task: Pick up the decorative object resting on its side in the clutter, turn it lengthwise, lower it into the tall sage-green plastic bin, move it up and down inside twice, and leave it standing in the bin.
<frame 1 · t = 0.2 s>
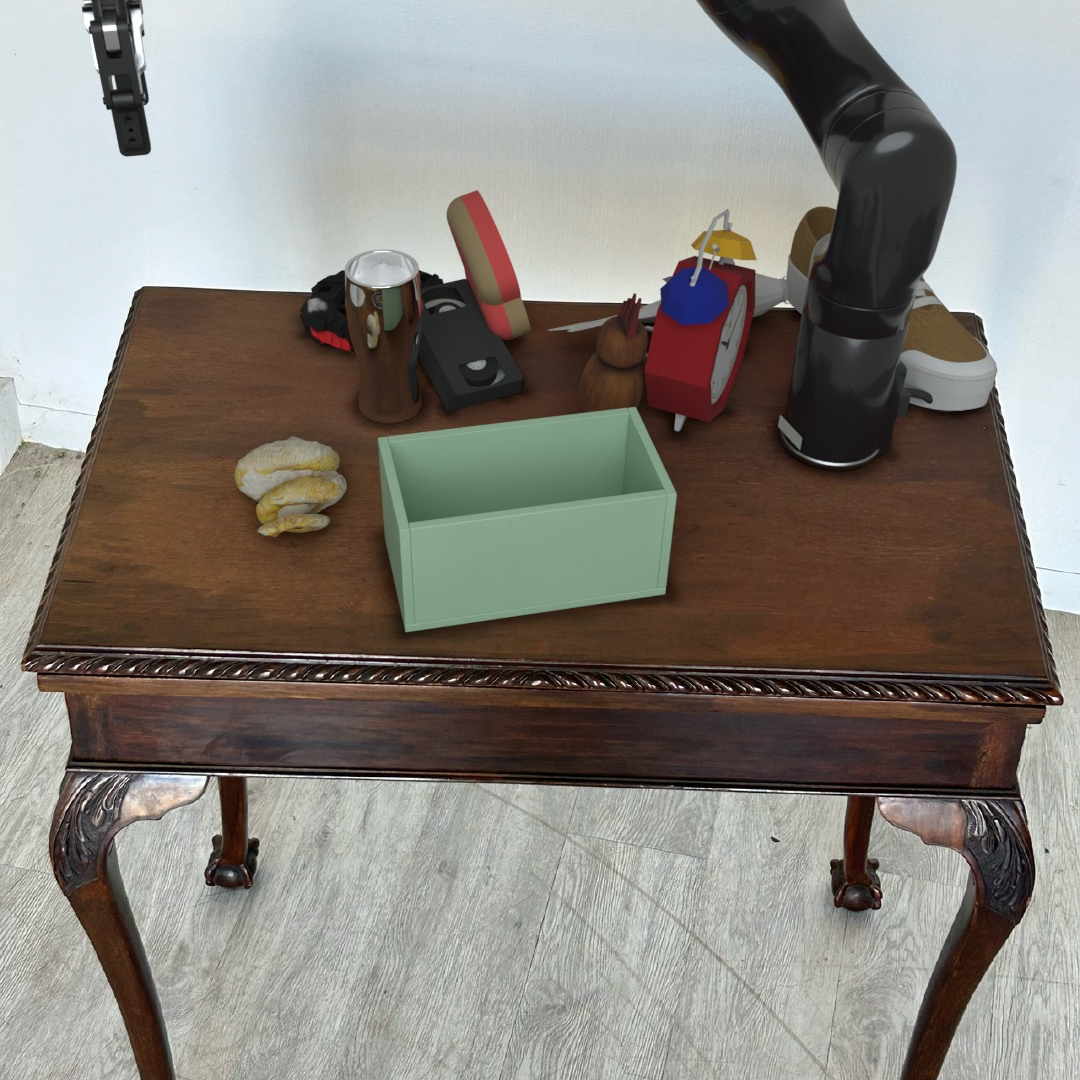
hand: (135, 128, 102), 33 cm above the table, tool pointing down, fingers open, 8 cm apart
sneaker: (874, 348, 141), on the table
beer glass: (390, 406, 132), on the table
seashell: (293, 504, 121), on the table
fish: (695, 310, 136), point 5 cm above the table
wooden figurine: (601, 427, 129), on the table, touching alarm clock
toy: (381, 318, 143), on the table, touching vhs tape
alarm clock: (682, 401, 133), on the table, touching wooden figurine
bin: (522, 565, 115), on the table
decorative object: (505, 310, 132), point 7 cm above the table
vhs tape: (456, 351, 136), point 2 cm above the table, touching toy
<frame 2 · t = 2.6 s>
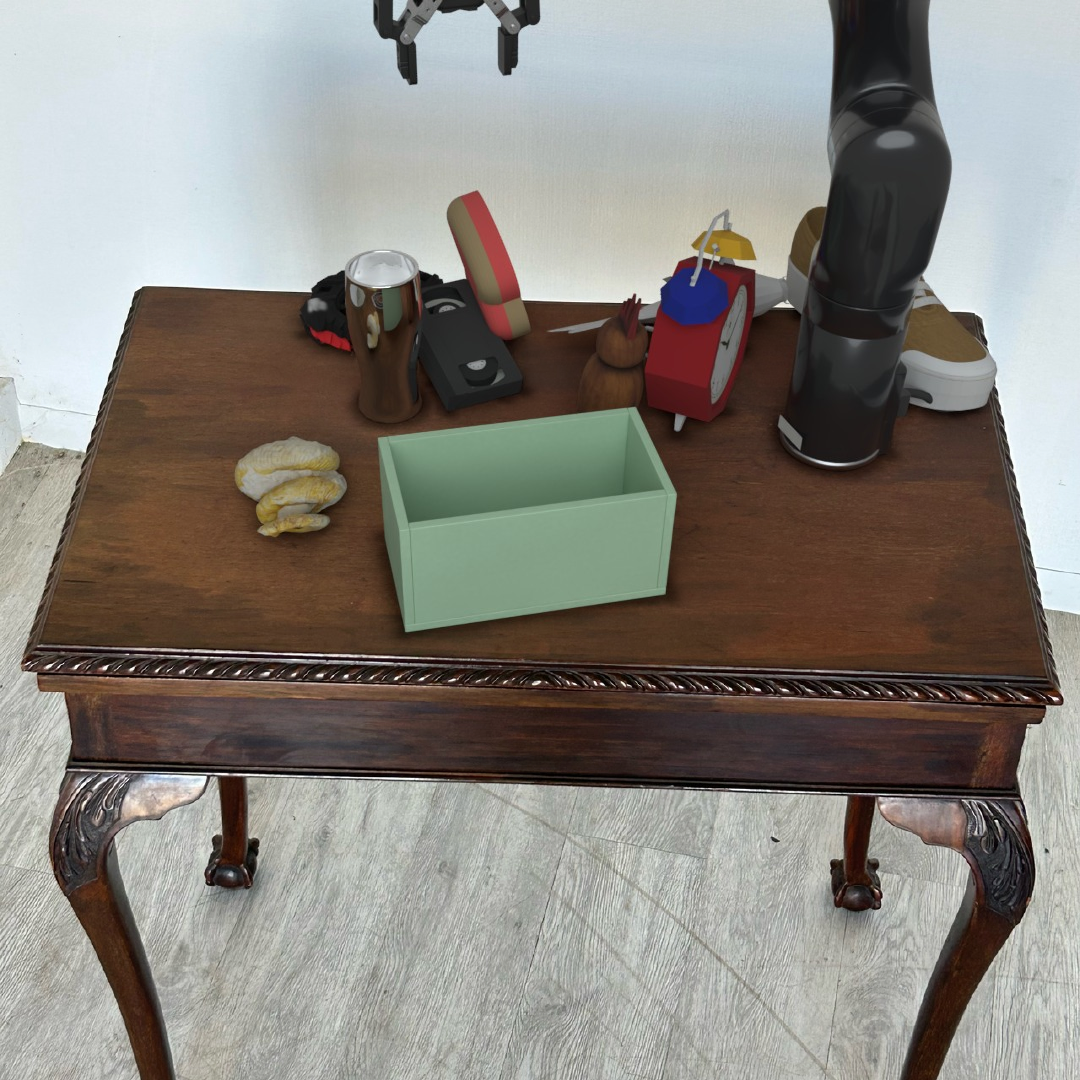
hand: (458, 76, 122), 28 cm above the table, tool pointing down, fingers open, 8 cm apart
nothing on the table moved.
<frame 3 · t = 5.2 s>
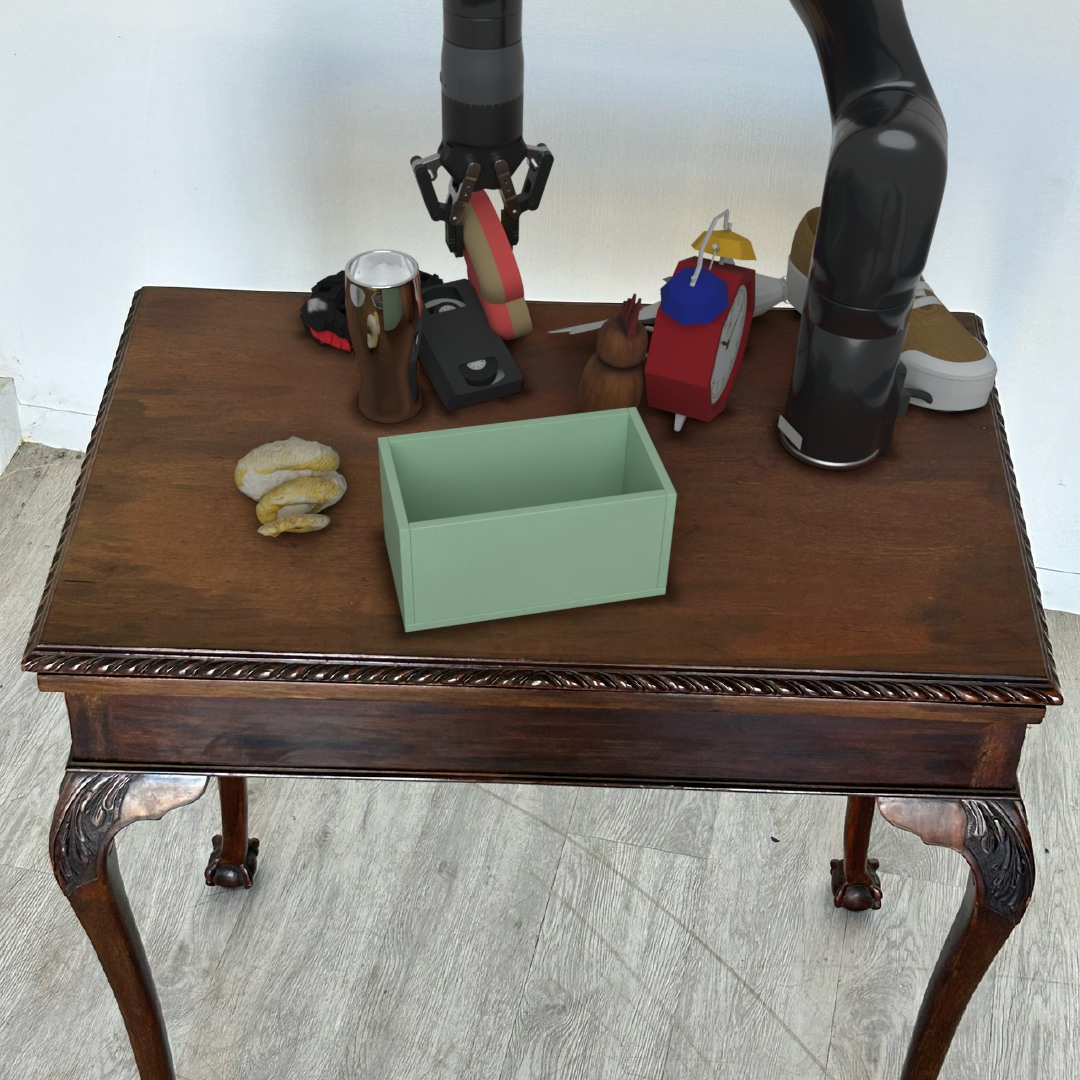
hand: (482, 250, 136), 9 cm above the table, tool pointing down, fingers closed on decorative object, 4 cm apart
decorative object: (508, 309, 132), point 7 cm above the table, touching gripper
everything else where it was.
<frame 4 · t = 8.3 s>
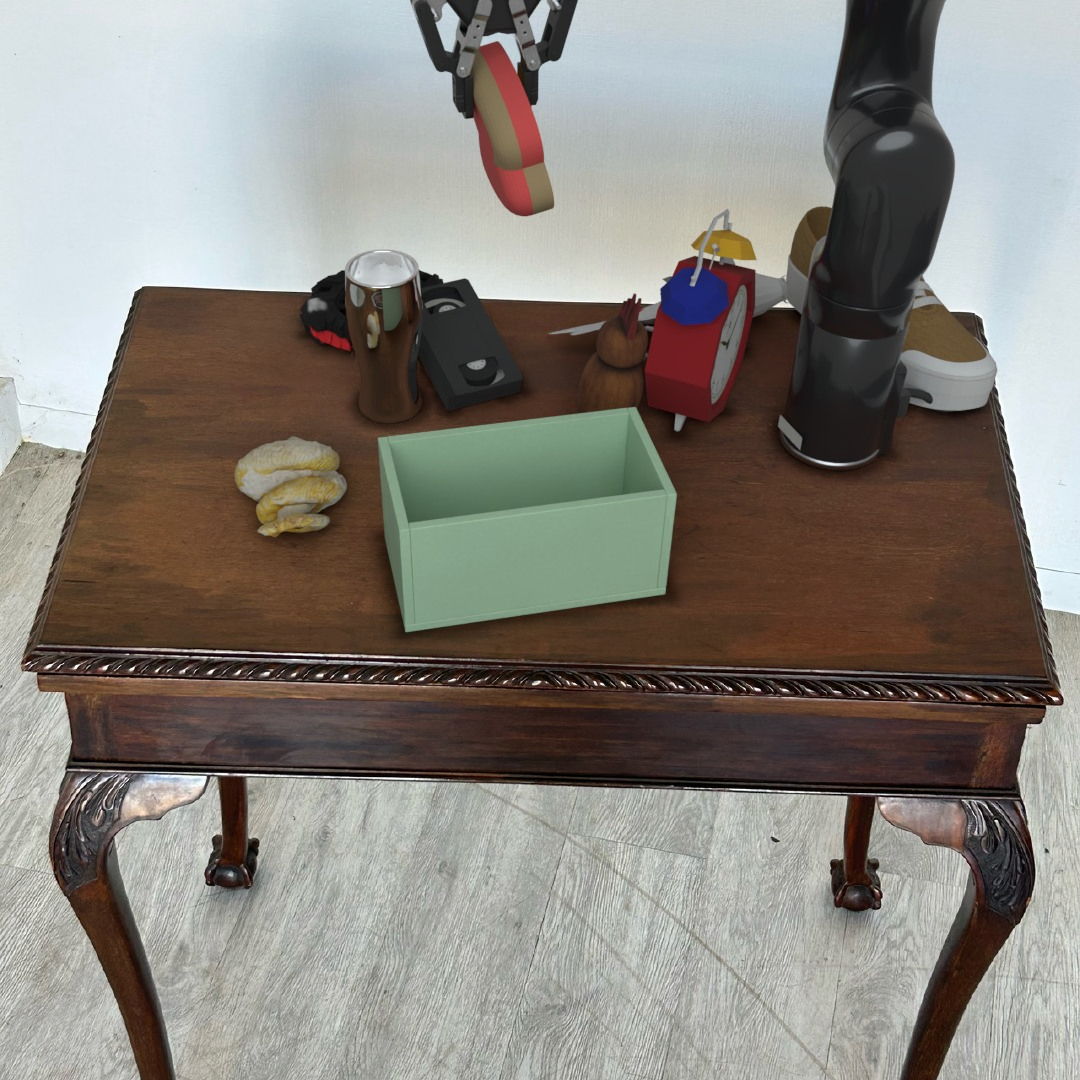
hand: (496, 111, 117), 28 cm above the table, tool pointing down, fingers closed on decorative object, 4 cm apart
decorative object: (526, 175, 113), point 26 cm above the table, touching gripper
everything else where it was.
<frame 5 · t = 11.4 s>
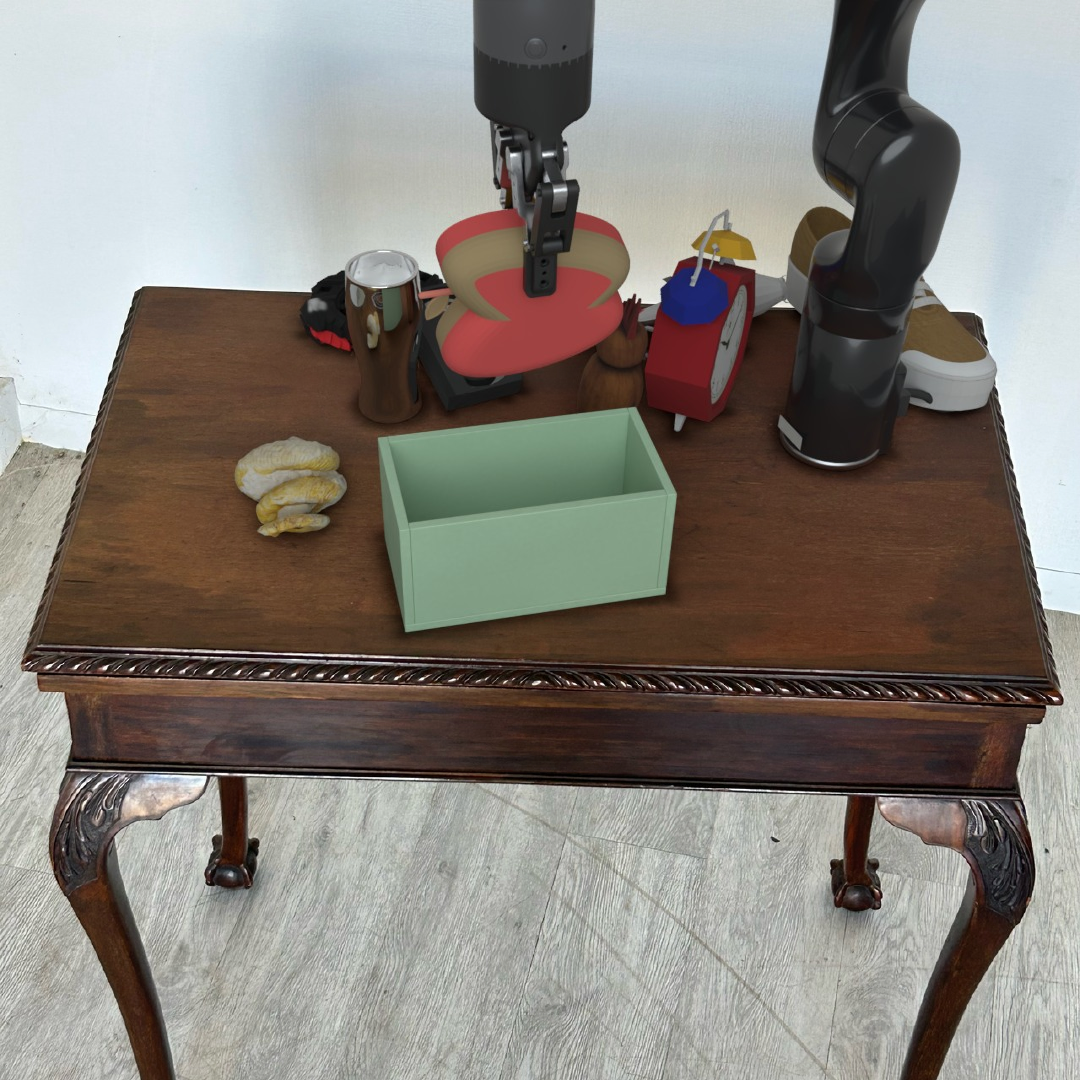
hand: (529, 274, 96), 28 cm above the table, tool pointing down, fingers closed on decorative object, 4 cm apart
decorative object: (628, 283, 100), point 26 cm above the table, touching gripper
everything else where it was.
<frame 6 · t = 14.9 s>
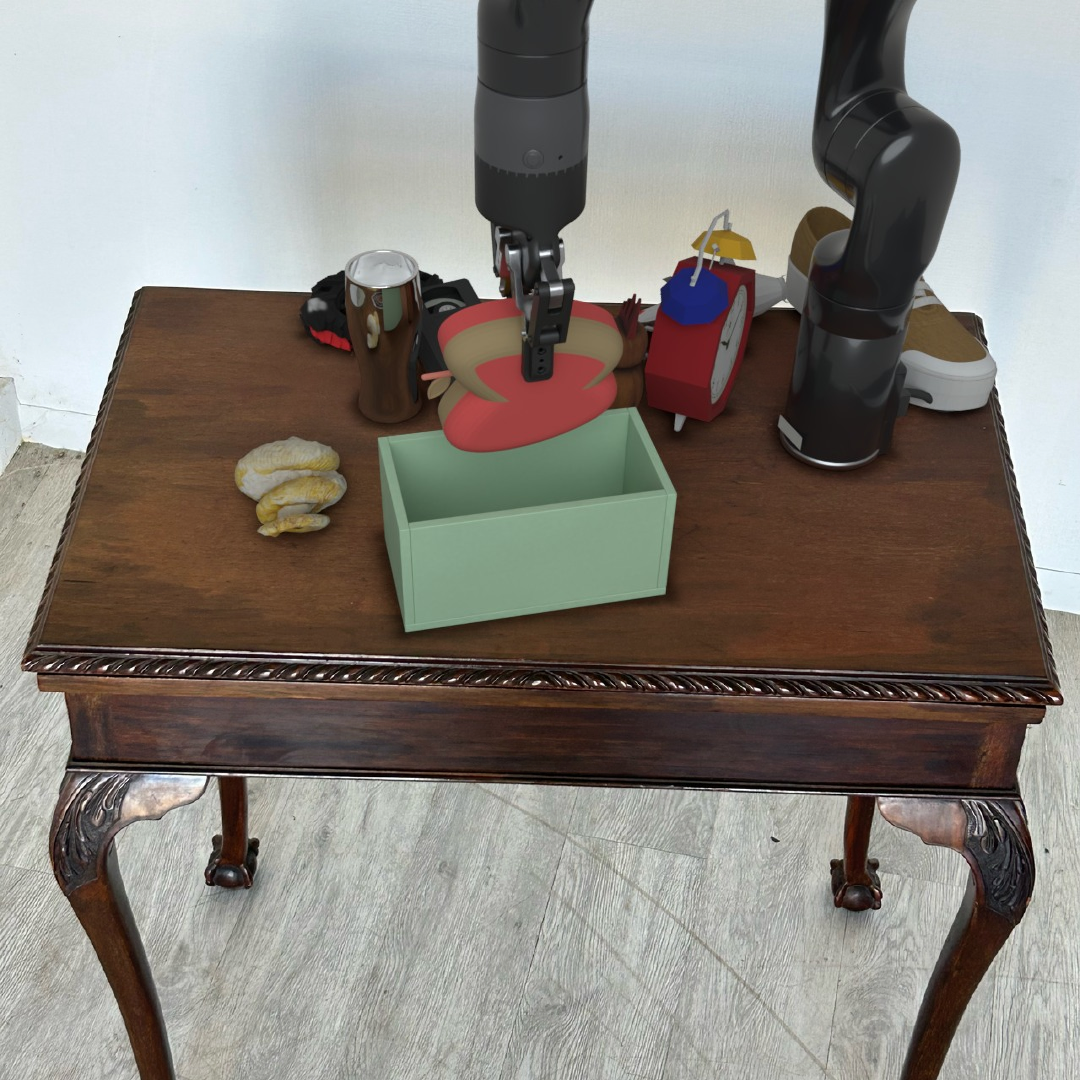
hand: (527, 358, 101), 21 cm above the table, tool pointing down, fingers closed on decorative object, 4 cm apart
decorative object: (621, 364, 105), point 19 cm above the table, touching gripper
everything else where it was.
when the fingers open (10 cm above the table, at t = 17.6 s): decorative object moves 1 cm, resting on bin.
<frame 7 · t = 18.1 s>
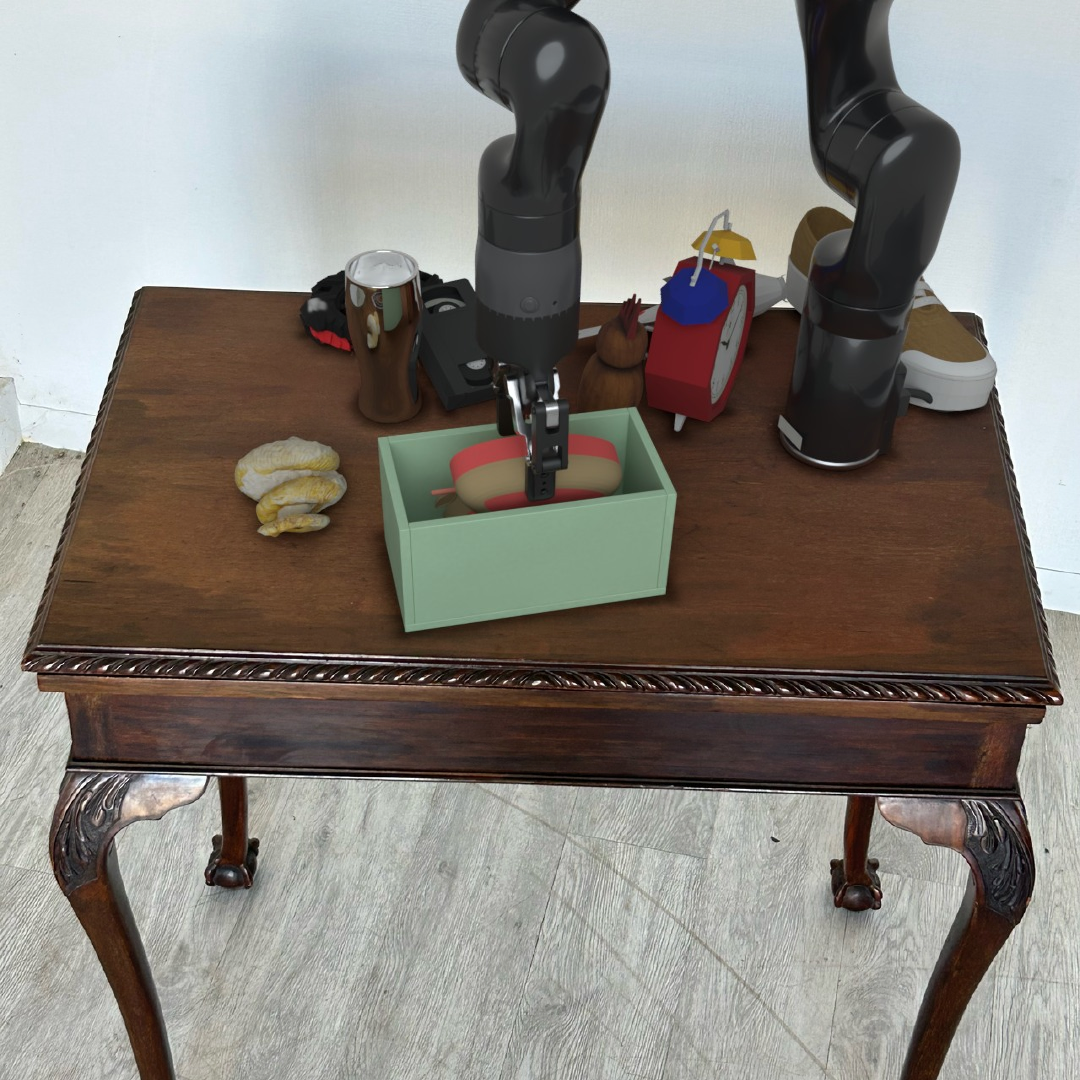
hand: (524, 464, 108), 11 cm above the table, tool pointing down, fingers open, 8 cm apart
wooden figurine: (601, 427, 129), on the table, touching alarm clock
decorative object: (618, 485, 112), point 7 cm above the table, touching bin, gripper
everything else where it was.
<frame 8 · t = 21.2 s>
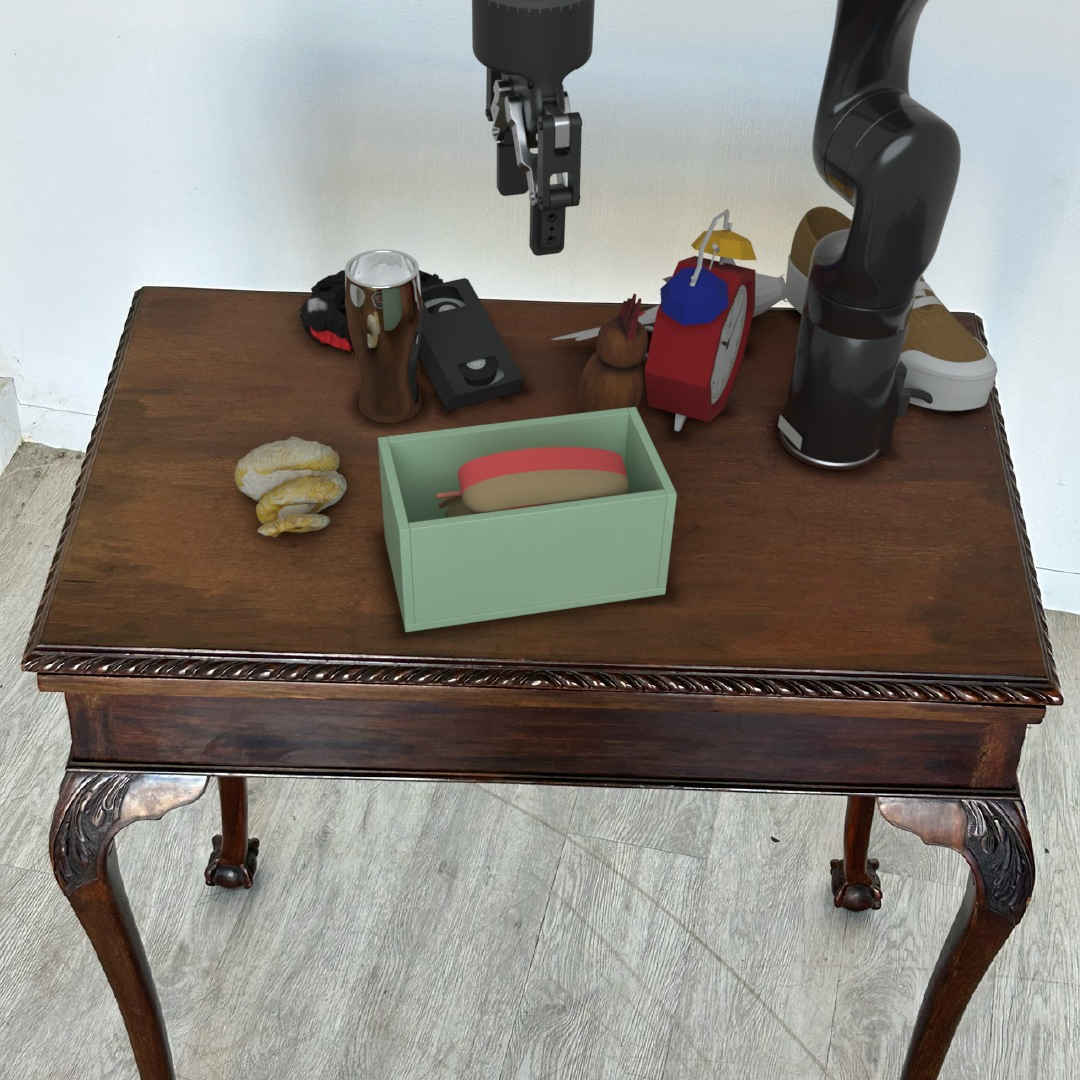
hand: (529, 221, 94), 32 cm above the table, tool pointing down, fingers open, 8 cm apart
decorative object: (623, 494, 111), point 7 cm above the table, touching bin
everything else where it was.
at the end: decorative object inside the target area in the bin (0.6 cm from its centre), point 7.0 cm above the bin's base; the gripper is holding nothing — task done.
